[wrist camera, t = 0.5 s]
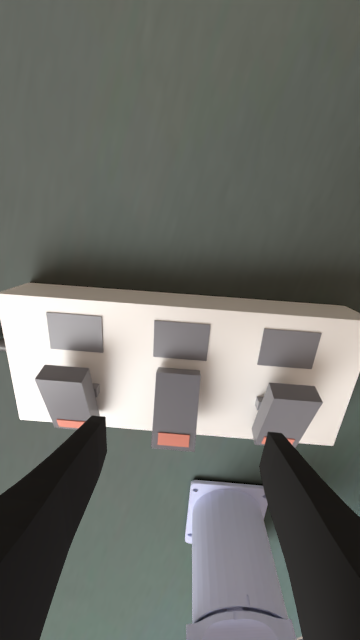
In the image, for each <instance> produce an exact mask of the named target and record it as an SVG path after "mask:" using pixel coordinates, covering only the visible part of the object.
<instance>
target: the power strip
mask: <svg viewBox="0 0 360 640" xmlns="http://www.w3.org/2000/svg"><path fill="white" fill-rule="evenodd" d="M0 320H1V325H2V330H3V335H4V339H3V338H0V351H7V356H8V361H9V366H10V371H11V376H12V382H13V387H14V392H15V397H16V402H17V407H18V412H19V418H20V420H32V421H44V422H52V420H51V417H50V415H49V413H48V410H47V408H46V405H45V403H44V401H43V398H42V396H41V393H40V391H39V389H38V386H37V384H36V382H35V378H36V376H37V375H38V374H39V372H40V371H41V369H42V368H43V366H44V365H57V366H70V367H82V368H89V370H90V374H91V379H92V383H93V388H94V392H95V397H96V401H97V405H98V410H99V414H100V416H103V417H106V427H115V428H127V429H139V430H150V431H152V428H153V413H154V398H155V383H156V372H157V369H158V367H164V368H177V369H190V370H200V374H201V380H200V392H199V404H198V416H197V428H196V434H198V435H210V436H221V437H233V438H245V439H253V434H252V426H253V423H254V421H255V418H256V415H257V413H258V410H259V407H260V405H261V402H262V400H263V397H264V394H265V392H266V389H267V386H268V384H269V382H270V383H282V384H295V385H307V386H315V387H316V389H317V392H318V394H319V396H320V398H321V400H322V402H323V403H322V405H321V407H320V408H319V410H318V412H317V413H316V415H315V416H314V418H313V420H312V421H311V423H310V425H309V426H308V428H307V430H306V431H305V433H304V435H303V436H302V438H301V440H300V441H299V443H304V444H316V445H328V446H333V445H334V442H335V439H336V437H337V434H338V431H339V428H340V425H341V423H342V420H343V417H344V414H345V411H346V409H347V406H348V403H349V400H350V398H351V395H352V392H353V389H354V386H355V384H356V381H357V378H358V375H359V372H360V313H359V312H356V311H354V310H352V309H350V308H348V307H346V306H341V305H328V304H314V303H300V302H287V301H273V300H260V299H246V298H232V297H219V296H205V295H191V294H178V293H164V292H150V291H137V290H123V289H109V288H96V287H82V286H68V285H55V284H41V283H27V284H23V285H20V286H17V287H14V288H11V289H8V290H4V291H1V292H0Z"/></svg>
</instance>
